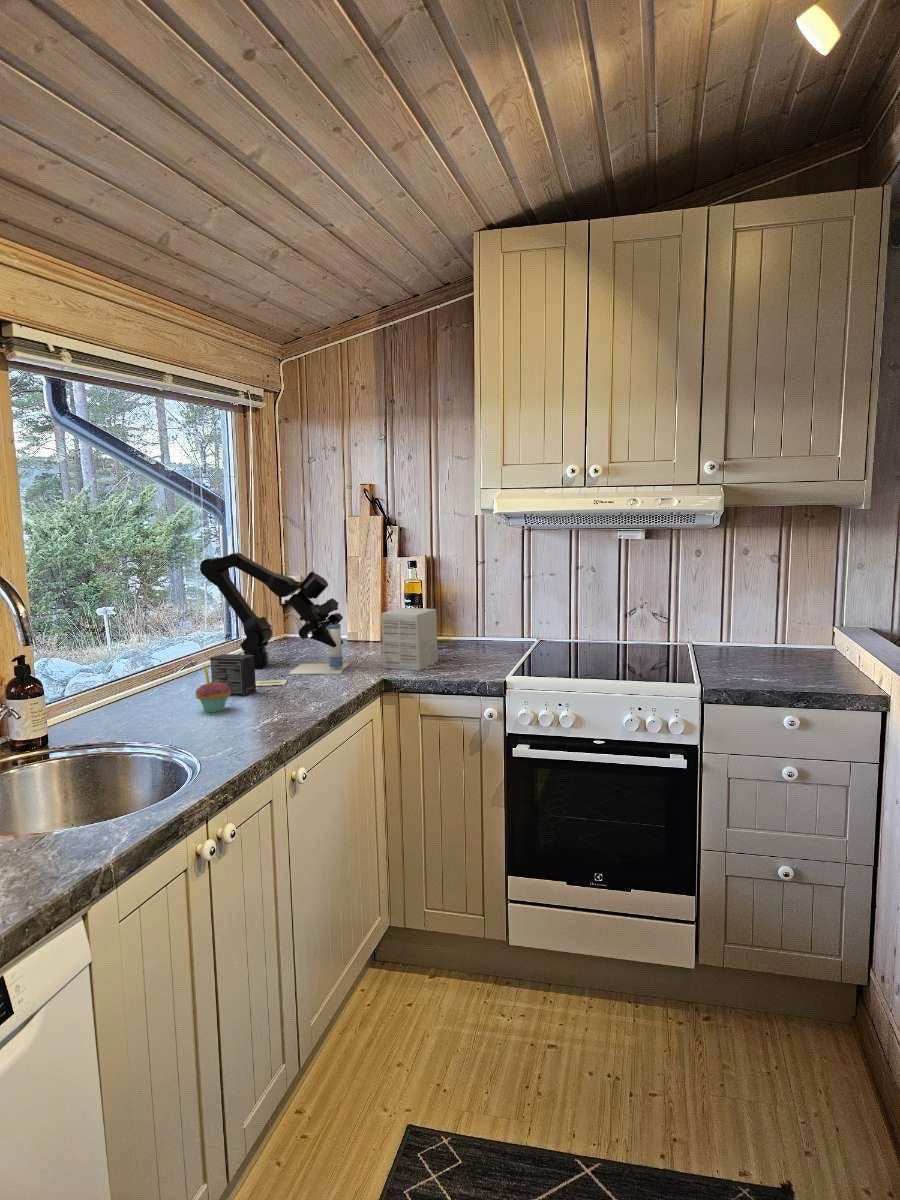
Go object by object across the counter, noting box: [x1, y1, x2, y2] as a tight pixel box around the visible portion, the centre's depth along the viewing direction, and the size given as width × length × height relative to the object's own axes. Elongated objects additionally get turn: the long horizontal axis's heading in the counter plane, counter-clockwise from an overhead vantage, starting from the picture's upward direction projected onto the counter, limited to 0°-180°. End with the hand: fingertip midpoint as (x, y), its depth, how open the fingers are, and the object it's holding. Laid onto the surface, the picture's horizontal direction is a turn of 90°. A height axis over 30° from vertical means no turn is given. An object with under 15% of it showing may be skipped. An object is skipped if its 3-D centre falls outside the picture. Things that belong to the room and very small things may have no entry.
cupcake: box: [195, 664, 232, 713], centre depth 198 cm, size 9×8×12 cm
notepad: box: [288, 661, 352, 675], centre depth 245 cm, size 16×16×1 cm
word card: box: [255, 679, 288, 687], centre depth 226 cm, size 9×6×1 cm, turn 96°
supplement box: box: [380, 607, 439, 672], centre depth 246 cm, size 13×13×18 cm
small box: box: [209, 653, 257, 697], centre depth 216 cm, size 11×6×10 cm, turn 71°
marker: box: [328, 623, 344, 667], centre depth 242 cm, size 4×4×13 cm
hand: (338, 645), depth 241 cm, fingers closed on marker, 4 cm apart
